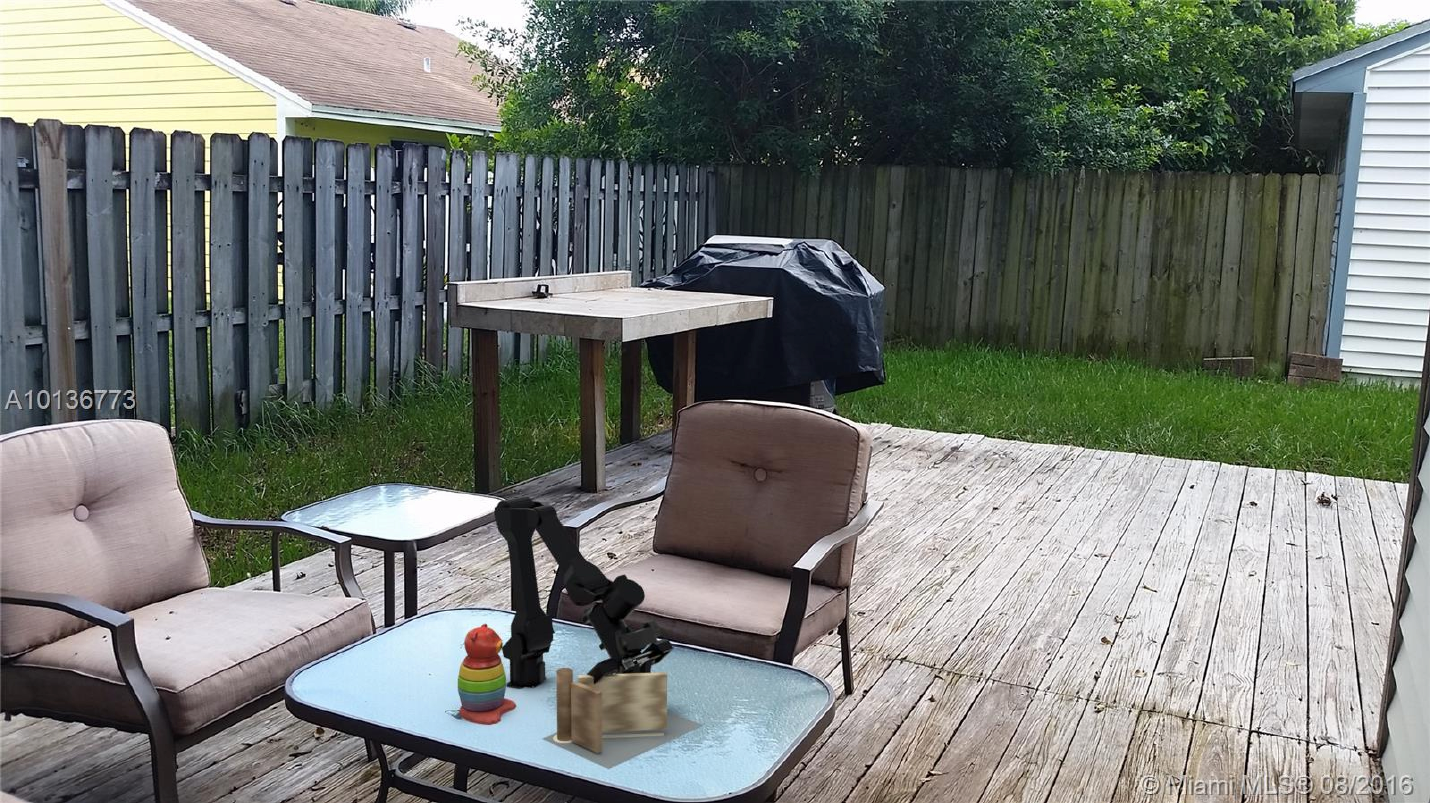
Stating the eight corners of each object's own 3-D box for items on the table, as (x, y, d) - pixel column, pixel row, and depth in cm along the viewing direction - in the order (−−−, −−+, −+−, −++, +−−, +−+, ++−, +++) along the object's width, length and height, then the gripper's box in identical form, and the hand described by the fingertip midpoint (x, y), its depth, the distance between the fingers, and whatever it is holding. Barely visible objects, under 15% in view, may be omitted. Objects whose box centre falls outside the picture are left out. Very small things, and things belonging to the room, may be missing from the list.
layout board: (542, 741, 218) (542, 737, 218) (637, 701, 236) (637, 698, 236) (608, 771, 206) (608, 768, 206) (703, 727, 225) (703, 724, 225)
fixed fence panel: (553, 738, 218) (553, 670, 216) (565, 733, 220) (565, 666, 218) (593, 756, 211) (593, 686, 209) (605, 750, 213) (605, 682, 211)
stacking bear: (494, 729, 223) (493, 639, 220) (447, 721, 226) (445, 633, 223) (520, 707, 233) (518, 621, 231) (474, 700, 236) (472, 616, 234)
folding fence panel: (578, 732, 218) (578, 677, 216) (578, 730, 219) (578, 675, 217) (666, 729, 220) (667, 674, 218) (666, 726, 221) (666, 672, 219)
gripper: (597, 621, 214) (638, 696, 209) (667, 598, 228) (708, 667, 222) (568, 651, 221) (607, 724, 215) (638, 627, 234) (677, 694, 229)
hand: (652, 701), depth 220 cm, fingers closed
